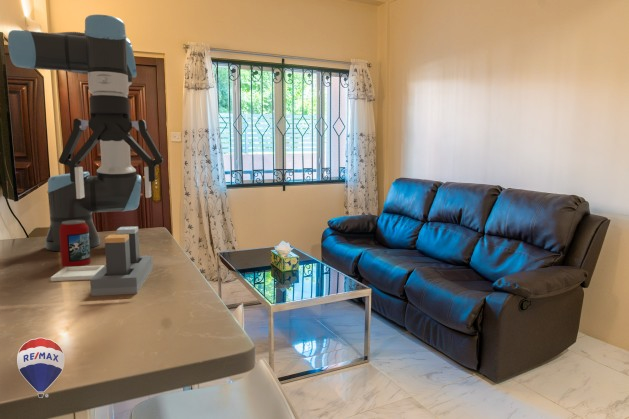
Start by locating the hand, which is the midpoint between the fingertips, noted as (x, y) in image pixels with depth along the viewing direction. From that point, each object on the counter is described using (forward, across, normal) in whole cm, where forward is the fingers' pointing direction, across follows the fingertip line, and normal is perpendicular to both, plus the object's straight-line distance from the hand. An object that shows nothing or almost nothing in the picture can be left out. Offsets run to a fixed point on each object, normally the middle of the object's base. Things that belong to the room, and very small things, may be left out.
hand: (115, 197), depth 94 cm
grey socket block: (+20, 0, +5) cm, 21 cm away
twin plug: (+18, 0, +10) cm, 21 cm away
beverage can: (+21, -16, +23) cm, 35 cm away
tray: (+20, -12, +12) cm, 26 cm away
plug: (+18, 0, 0) cm, 18 cm away
